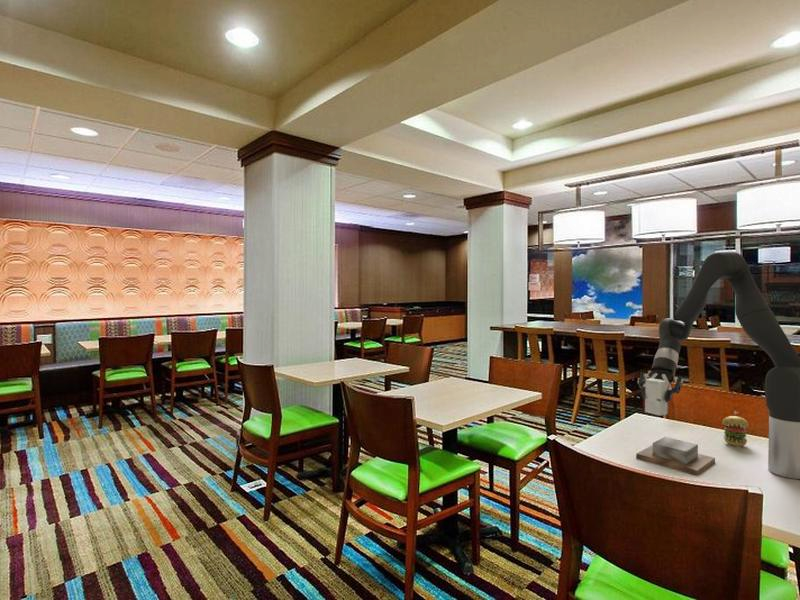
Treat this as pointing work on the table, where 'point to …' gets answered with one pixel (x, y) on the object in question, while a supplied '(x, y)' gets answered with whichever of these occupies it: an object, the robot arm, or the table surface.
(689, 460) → the display stand
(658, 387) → the skincare box
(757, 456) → the table surface
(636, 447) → the table surface
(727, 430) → the hamburger
